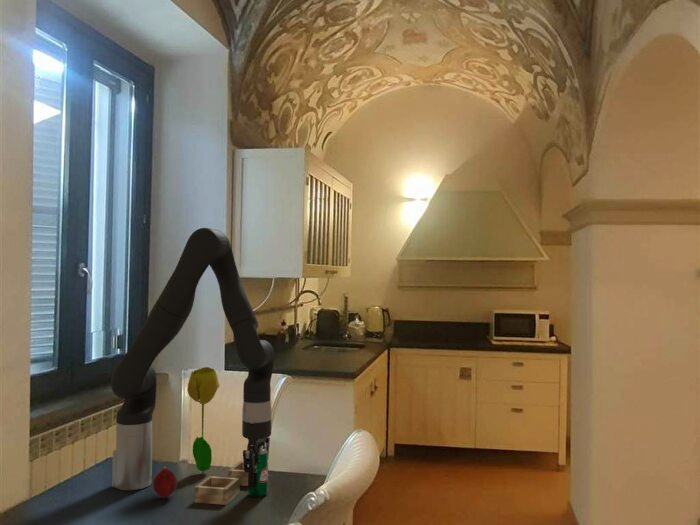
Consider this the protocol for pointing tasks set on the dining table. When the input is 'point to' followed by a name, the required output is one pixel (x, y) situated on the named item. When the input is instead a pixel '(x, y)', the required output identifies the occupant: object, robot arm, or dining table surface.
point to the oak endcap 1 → (217, 490)
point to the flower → (204, 390)
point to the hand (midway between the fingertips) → (256, 483)
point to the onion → (165, 483)
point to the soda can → (261, 476)
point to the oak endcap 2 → (239, 473)
